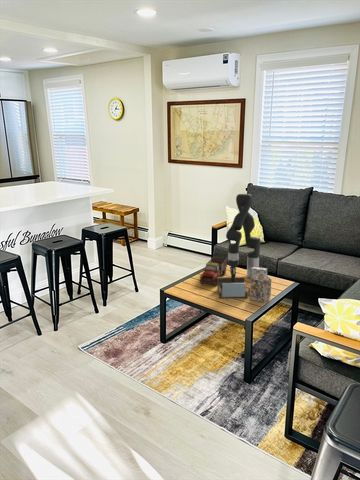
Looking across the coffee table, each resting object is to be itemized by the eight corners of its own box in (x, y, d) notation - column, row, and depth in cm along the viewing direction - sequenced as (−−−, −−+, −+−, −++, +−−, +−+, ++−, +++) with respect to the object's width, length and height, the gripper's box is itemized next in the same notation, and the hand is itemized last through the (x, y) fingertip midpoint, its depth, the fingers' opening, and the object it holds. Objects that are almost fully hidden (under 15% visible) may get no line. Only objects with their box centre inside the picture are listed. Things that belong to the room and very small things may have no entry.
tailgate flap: (222, 296, 264) (222, 283, 262) (244, 295, 264) (245, 282, 261) (222, 296, 263) (222, 283, 260) (245, 296, 263) (245, 283, 260)
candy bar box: (266, 288, 281) (267, 268, 276) (264, 291, 277) (265, 270, 272) (252, 286, 286) (253, 266, 281) (250, 288, 282) (251, 268, 277)
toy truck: (198, 285, 290) (198, 267, 286) (213, 270, 321) (213, 253, 316) (215, 288, 284) (215, 269, 280) (229, 272, 315) (230, 255, 311)
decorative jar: (265, 303, 257) (266, 278, 252) (249, 299, 263) (250, 275, 258) (271, 296, 267) (272, 273, 262) (255, 293, 273) (256, 270, 268)
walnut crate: (217, 289, 281) (217, 277, 278) (244, 289, 280) (244, 276, 278) (219, 298, 265) (219, 285, 262) (247, 298, 265) (248, 285, 262)
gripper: (227, 255, 268) (226, 278, 273) (229, 261, 255) (228, 285, 260) (237, 255, 268) (236, 278, 272) (240, 261, 255) (239, 285, 260)
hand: (232, 281), depth 266 cm, fingers closed
